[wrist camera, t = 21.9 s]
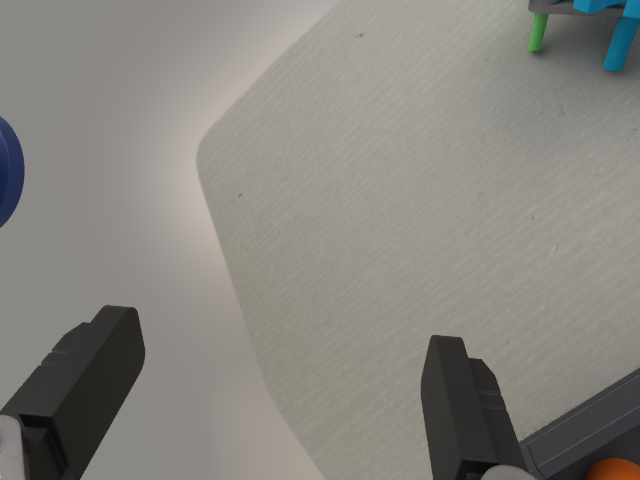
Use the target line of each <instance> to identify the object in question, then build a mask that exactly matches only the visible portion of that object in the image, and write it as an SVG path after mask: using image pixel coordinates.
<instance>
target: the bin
mask: <svg viewBox="0 0 640 480" xmlns="http://www.w3.org/2000/svg"><path fill="white" fill-rule="evenodd" d="M519 446H520V449H521V452H522V455H523V458H524V461H525V464H526V466H527V469H528V471H529V473H530V474H531V475H532V476H534V477H535V478H536V479H537V480H584V478H585V475H586V473H587V471H588V469H589V468H590V467H591V466H592V465H593V464H594V463H596V462H598V461H600V460H602V459H606V458H621V459H625V460H628V461H631V462H633V463H635V464H636V465H638V466H639V467H640V368H639V369H637V370H635V371H634V372H632V373H631V374H629V375H627V376H626V377H624V378H623V379H621V380H619V381H618V382H616V383H614V384H613V385H611V386H610V387H608V388H606V389H605V390H603V391H602V392H600V393H598V394H597V395H595V396H593V397H592V398H590V399H589V400H587V401H585V402H584V403H582V404H581V405H579V406H577V407H576V408H574V409H572V410H571V411H569V412H568V413H566V414H564V415H563V416H561V417H560V418H558V419H556V420H555V421H553V422H552V423H550V424H548V425H547V426H545V427H543V428H542V429H540V430H539V431H537V432H535V433H534V434H532V435H531V436H529V437H527V438H526V439H524V440H522V441H521V442H519Z"/></svg>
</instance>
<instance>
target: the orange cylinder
mask: <svg viewBox="0 0 640 480" xmlns="http://www.w3.org/2000/svg"><path fill="white" fill-rule="evenodd" d="M584 480H640V467H639V466H638V465H636V464H635V463H633V462H631V461H628V460H625V459H621V458H606V459H602V460H600V461H598V462H596V463H594V464H593V465H592V466H591V467H590V468H589V469H588V471H587V473H586V475H585V478H584Z"/></svg>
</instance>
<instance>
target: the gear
mask: <svg viewBox="0 0 640 480" xmlns="http://www.w3.org/2000/svg"><path fill="white" fill-rule="evenodd" d="M528 10H529V11H531V12H534V13H535V17H534V22H533V26H532V31H531V36H530V41H529V46H528V50H530V51H539V50H540V49H541V45H542V40H543V36H544V32H545V27H546V23H547V19H548V14H567V15H589V16H612V17H619V19H618V22H617V25H616V28H615V31H614V34H613V37H612V40H611V43H610V46H609V49H608V52H607V55H606V58H605V61H604V64H603V68H604V69H606V70H609V71H618V70H621V69H622V67H623V64H624V61H625V59H626V56H627V53H628V51H629V48H630V45H631V42H632V40H633V37H634V34H635V31H636V29H637V26H638V23H639V21H640V0H530V1H529V6H528Z"/></svg>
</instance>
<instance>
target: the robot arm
mask: <svg viewBox="0 0 640 480" xmlns="http://www.w3.org/2000/svg"><path fill="white" fill-rule="evenodd" d="M144 359H145V347H144V341H143V336H142V331H141V326H140V321H139V316H138V312H137V310H136V309H135V308H133V307H122V306H110V305H106V306H104V307H103V308H102V309H101V310H100V311H99V312H98V314H97V315H96V316H95V317H94V319H93V320H92V321H91V322H90V323H85V322H83V323H81V324H80V325H78V326H77V327H75V328H74V329H72V330H71V331H69V332H68V333H66V334H65V335H64V336H63V337H62V338H61V340H60V341H59V342H58V343H57V344H56V345H55V347H54V348H53V349H52V352H51V353H49V354H48V355H47V356H46V357H45V359H44V360H43V361H42V362H41V366H38V367H37V368H36V369H35V370H34V372H33V373H32V374H31V375H30V377H29V378H28V379H27V380H26V381H25V382H24V383H23V385H22V386H21V387H20V388H19V389H18V391H17V392H16V393H15V394H14V396H13V397H12V398H11V399H10V400H9V401H8V402H7V404H6V405H5V406H4V407H3V408H2V410H1V411H0V480H80V478H81V477H82V475H83V473H84V471H85V470H86V468H87V466H88V464H89V463H90V461H91V459H92V457H93V455H94V454H95V452H96V450H97V448H98V447H99V445H100V443H101V441H102V440H103V438H104V436H105V434H106V432H107V431H108V429H109V427H110V425H111V424H112V422H113V420H114V418H115V417H116V415H117V413H118V411H119V409H120V408H121V406H122V404H123V402H124V401H125V399H126V397H127V395H128V393H129V392H130V390H131V388H132V386H133V385H134V383H135V381H136V379H137V378H138V376H139V374H140V372H141V370H142V367H143V364H144ZM421 401H422V407H423V414H424V421H425V427H426V434H427V441H428V447H429V454H430V461H431V468H432V474H433V480H537V479H536V478H535V477H534V476H532V475H531V474H530V473H529V471H528V469H527V466H526V464H525V461H524V458H523V455H522V452H521V449H520V446H519V443H518V441H517V438H516V435H515V432H514V429H513V426H512V423H511V420H510V418H509V415H508V412H507V411H506V406H505V403H504V400H503V397H502V396H501V392H500V389H499V386H498V383H497V380H496V377H495V375H494V374H493V372H492V371H491V370H490V369H489V368H488V367H487V365H486V364H485V363H484V362H483V361H482V359H473V358H468V356H467V352H466V349H465V345H464V342H463V340H462V338H461V337H451V336H440V335H432V336H431V339H430V342H429V347H428V351H427V356H426V360H425V364H424V369H423V373H422V379H421Z"/></svg>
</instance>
